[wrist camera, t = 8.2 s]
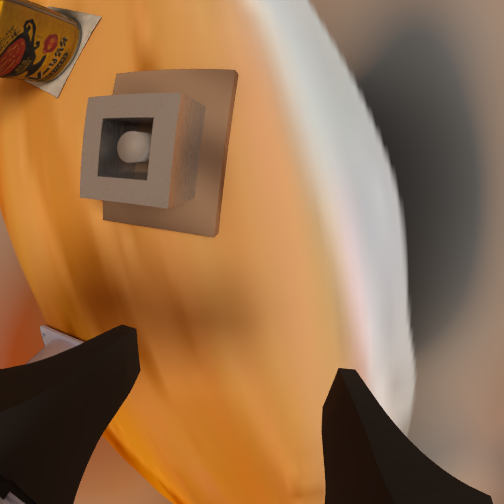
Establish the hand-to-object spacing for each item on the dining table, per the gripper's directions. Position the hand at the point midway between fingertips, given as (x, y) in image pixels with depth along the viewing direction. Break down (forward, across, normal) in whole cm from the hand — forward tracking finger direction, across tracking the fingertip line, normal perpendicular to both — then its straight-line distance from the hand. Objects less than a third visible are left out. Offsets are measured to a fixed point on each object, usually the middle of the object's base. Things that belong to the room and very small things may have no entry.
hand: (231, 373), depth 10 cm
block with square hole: (+9, +7, -7) cm, 13 cm away
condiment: (+10, +20, -16) cm, 27 cm away
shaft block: (+10, +7, -7) cm, 14 cm away
